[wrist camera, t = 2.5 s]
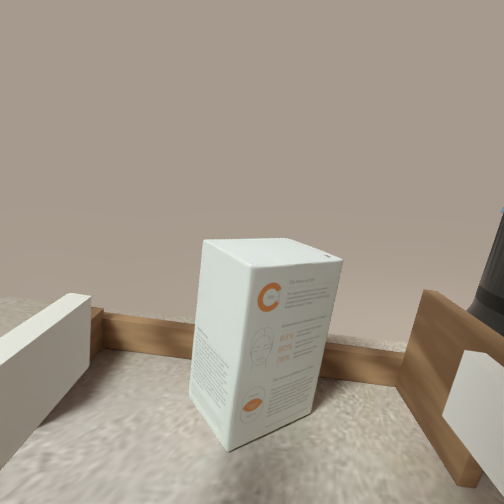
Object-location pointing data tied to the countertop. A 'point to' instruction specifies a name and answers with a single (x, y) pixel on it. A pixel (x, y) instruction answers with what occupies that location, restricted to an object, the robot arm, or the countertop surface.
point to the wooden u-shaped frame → (357, 363)
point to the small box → (259, 334)
